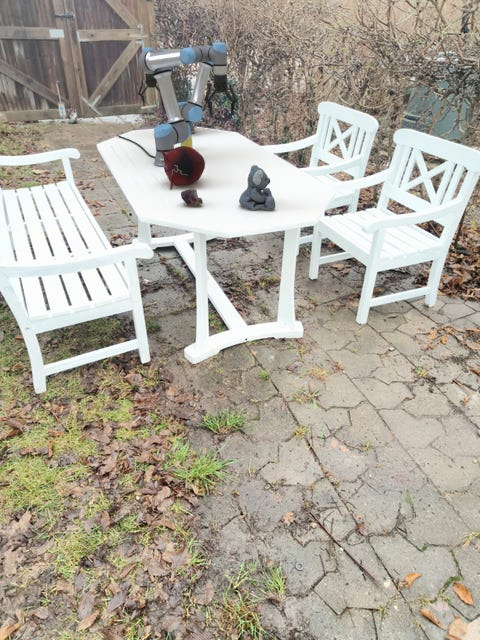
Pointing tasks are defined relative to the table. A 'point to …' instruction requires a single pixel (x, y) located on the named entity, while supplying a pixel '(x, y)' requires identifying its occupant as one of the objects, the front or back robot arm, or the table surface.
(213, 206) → the table surface
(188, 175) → the dark red rounded lump
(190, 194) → the rock
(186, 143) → the tin
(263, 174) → the koala plush
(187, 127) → the front robot arm
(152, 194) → the table surface
